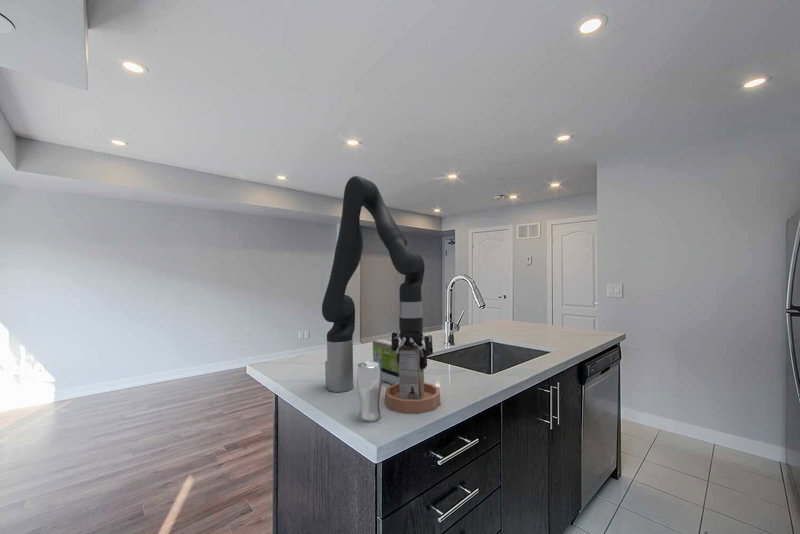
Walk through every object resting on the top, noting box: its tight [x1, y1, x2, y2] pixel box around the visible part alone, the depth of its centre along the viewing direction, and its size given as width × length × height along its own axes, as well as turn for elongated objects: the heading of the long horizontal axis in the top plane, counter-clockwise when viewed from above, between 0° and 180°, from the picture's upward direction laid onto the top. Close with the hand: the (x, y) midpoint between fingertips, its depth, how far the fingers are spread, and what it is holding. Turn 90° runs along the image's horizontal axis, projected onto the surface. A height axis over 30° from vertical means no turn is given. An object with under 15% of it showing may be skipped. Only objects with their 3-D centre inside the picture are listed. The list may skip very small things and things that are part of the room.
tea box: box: [372, 336, 401, 385], centre depth 128 cm, size 15×10×15 cm, turn 42°
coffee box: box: [398, 345, 425, 400], centre depth 106 cm, size 9×6×16 cm
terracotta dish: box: [384, 382, 441, 414], centre depth 105 cm, size 17×17×4 cm
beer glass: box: [356, 360, 383, 423], centre depth 95 cm, size 7×7×15 cm
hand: (411, 366), depth 106 cm, fingers open, 8 cm apart
